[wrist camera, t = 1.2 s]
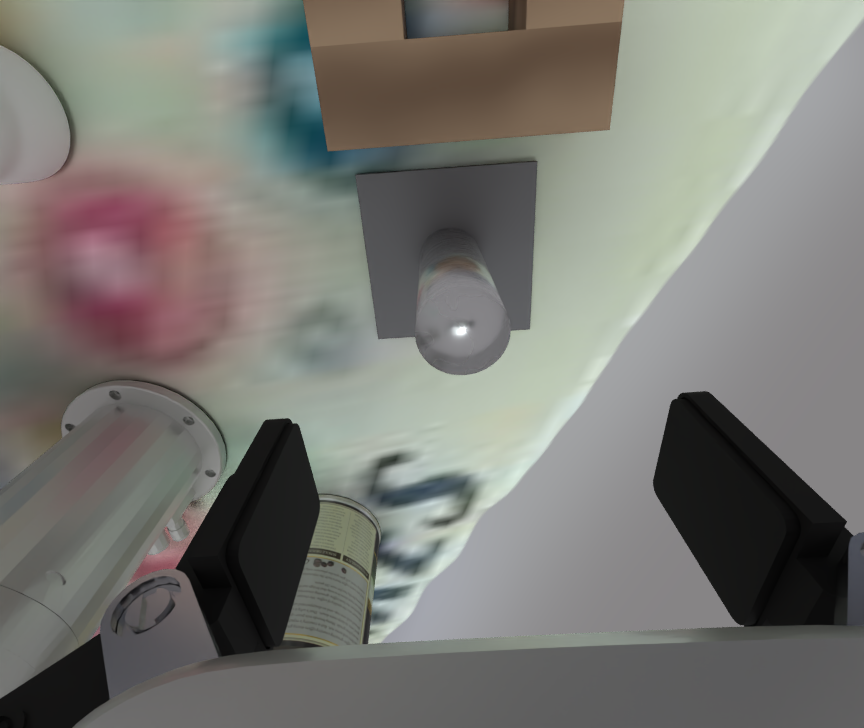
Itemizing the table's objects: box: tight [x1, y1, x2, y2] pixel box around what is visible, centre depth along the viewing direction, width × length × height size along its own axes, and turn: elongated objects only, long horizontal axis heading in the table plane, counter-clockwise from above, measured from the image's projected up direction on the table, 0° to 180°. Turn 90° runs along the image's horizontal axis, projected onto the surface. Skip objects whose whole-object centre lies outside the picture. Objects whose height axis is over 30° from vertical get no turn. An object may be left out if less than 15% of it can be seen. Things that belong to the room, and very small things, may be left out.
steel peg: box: [415, 228, 511, 375], centre depth 23 cm, size 4×4×12 cm
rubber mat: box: [355, 161, 537, 339], centre depth 29 cm, size 11×11×1 cm
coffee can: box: [273, 495, 381, 650], centre depth 36 cm, size 10×10×14 cm
